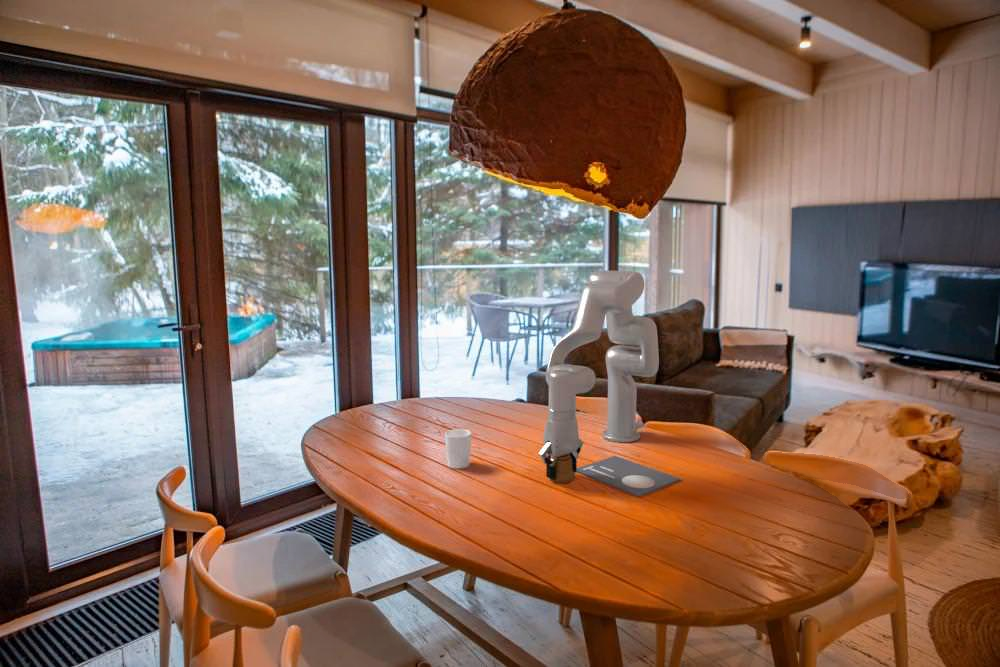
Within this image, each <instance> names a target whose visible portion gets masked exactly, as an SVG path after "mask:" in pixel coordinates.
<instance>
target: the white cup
mask: <svg viewBox="0 0 1000 667" xmlns="http://www.w3.org/2000/svg"><path fill="white" fill-rule="evenodd" d="M444 441H445V442H444V443H445V452H446V454H445V455H446V459H447V467H449V468H451V469H455V470H461V469H466V468H468V467H469V466H470V465H471V463H470V462H471V459H470V458H471V453H472V452H471V447H472V432H471V430H468V429H462V428H459V429H458V428H455V429H450V430H447V431H446V432H444Z"/></svg>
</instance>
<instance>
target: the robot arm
mask: <svg viewBox="0 0 1000 667" xmlns="http://www.w3.org/2000/svg"><path fill="white" fill-rule="evenodd" d="M588 283H589V284H586V285H585V286H584V287H583V289H582V291H581V294H580V299H579V301H578V306H577V308H576V309H577V310H576V313H575V318H574V321H573V324H572V328H571V329H570V331H569V332H567V333H566V334H564V336H563V337H561V338H560V339H559V340H558V342H557V343H556V344H555V345H554V347H553V349H552V350H551V351H550V355H549V358H548V362H547V365H546V370H545V382H546V384H547V385H548V419H546V422H545V425H544V430H543V431H544V432H543V439H542V440H543V443H542V444H543V445H542V449H541V450H540V451H539V453H538V456H539V457H540V459H541V461H543V463H544V464H545V465H546V468H545V469H546V470H545V471H546V478H548V479H549V478H550V479H552V480H555V479H556V466H554V464H555V461H556V459H557V457H559V456H562V455H565V454H569V455H570V456H571V457H572V470H573V471H574V473H577V472H576V471H577V468H578V467H577V461H578V460H577V459H578V458H579V454H580V453H581V451H582V449H583V445H584V444H585V443H584V441H583V440H582V439H580V438H579V428H578V427H579V424H578V420H577V416H576V415H577V414H576V413H577V411H578V408H577V407H576V406H577V404H576V402H577V400H576V399H577V394H584V393H588V392H590V391H591V390H592V389H593V388H594V386H595V384H596V379H597V377H596V373H595V371H594V370H593V369H592V368H590V367H588V366H585V365H575V364H568V363H564V361H565V359H566V357H567V356H568V355H569V354H570V352H572V351H573V350H575V349H577V348H579V347H581V346H584V345H587V344H590V343H591V342H594V341H597V340H598V339H599V338H600V337H601V334H602V331H603V326H604V322H605V319H606V329H607V336H608V339H609V341H610V342H611V343H614V344H618V345H613V346H611V347H610V348H609V349H608V350H607V351H606V354H605V366H606V372H607V420H606V422H607V424H606V425H607V428H606V429H604V431H603V432H602V437H603V438H604V439H605V440H608V441H612V442H615V443H616V442H617V443H632V442H636V441H638V440H639V439H640V438H641V434H640V432H638V429H641V428H643V427H644V422H643V421H639V422H637V383H636V382H635V380H634V378H633V377H632V376H636V377H645V378H650V377H654V376H656V374H657V373H658V371H659V365H660V356H659V355H660V354H659V353H660V352H659V340H658V338H659V337H658V328H657V324H656V323H655V321H654V320H653V319H652V318H650V317H646V316H637V315H634V313H633V305H634V304H635V303H636V302H637V301H638V300H639V299H640V298H641V297H642V294H643V293H644V289H645V279H644V276H643V274H641V273H640V272H638V271H629V270H625V271H624V270H603V269H602V270H596V271H593V272H591V273H590V275H589V277H588ZM550 479H549V480H550Z"/></svg>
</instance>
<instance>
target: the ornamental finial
mask: <svg viewBox="0 0 1000 667" xmlns="http://www.w3.org/2000/svg"><path fill="white" fill-rule="evenodd" d="M554 466H556V479H555V480H552V479H550V478H548V479H549V480H550V481H551V482H553V483H555V484H561V485H562V484H569V483H572V482H573V481H574V480H575V477H576V475H575V473H574V471H573V470H572V457H571V456H570V455H569V454H565V455H562V456H559V457H557V459H556V461H555V464H554Z"/></svg>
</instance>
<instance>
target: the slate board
mask: <svg viewBox="0 0 1000 667" xmlns="http://www.w3.org/2000/svg"><path fill="white" fill-rule="evenodd" d="M576 473H577V474H579V475H582V476H585V477H587V478H590V479H592V480H595V481H597V482H600V483H602V484H605V485H608V486H609V487H612V488H615V489H617V490H620V491H623V492H624V493H627V494H630V495H632V496H634V497H637V498H641V497H644V496H646V495H649V494H650V493H653V492H656V491H658V490H660V489H664V488H665V487H668V486H671V485H673V484H675V483H678V482H680V481H681V477H677V476H675V475H671V474H669V473H667V472H666V473H665V472H663V471H660V470H657V469H654V468H652V467H648V466H646V465H643V464H640V463H637V462H633V461H631V460H628V459H626V458H623V457H619V456H618V455H613V456H611V457H610V456H609V457H607V458H603V459H601V460H598V461H594V462H592V463H588V464H586V465H582V466H580V467H577V471H576ZM670 484H671V485H670Z"/></svg>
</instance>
